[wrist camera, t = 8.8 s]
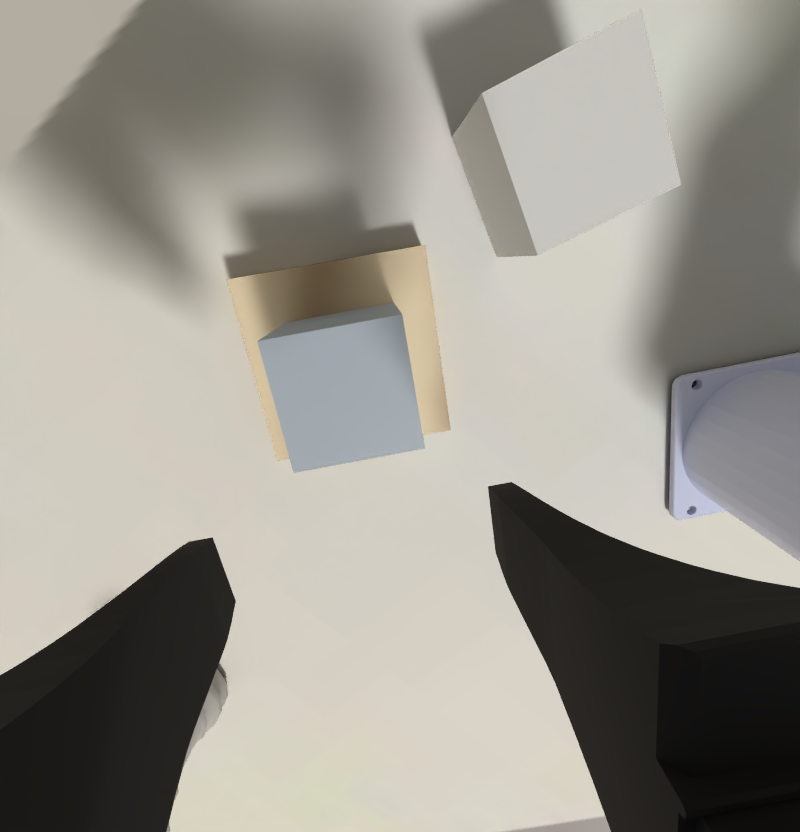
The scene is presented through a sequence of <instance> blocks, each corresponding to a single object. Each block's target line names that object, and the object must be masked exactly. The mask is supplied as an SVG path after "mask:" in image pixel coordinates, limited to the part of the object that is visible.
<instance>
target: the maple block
mask: <svg viewBox="0 0 800 832" xmlns="http://www.w3.org/2000/svg"><path fill="white" fill-rule="evenodd" d="M227 283H228V287H229V290H230V294H231V297H232V301H233V305H234V308H235V312H236V315H237V319H238V322H239V326H240V329H241V333H242V337H243V340H244V344H245V347H246V351H247V354H248V358H249V361H250V365H251V369H252V372H253V376H254V379H255V383H256V386H257V390H258V393H259V397H260V401H261V404H262V408H263V411H264V415H265V418H266V422H267V425H268V429H269V433H270V436H271V440H272V443H273V447H274V450H275V454H276V457H277V461H280V460H286V459H290V458H289V454H288V450H287V447H286V443H285V440H284V436H283V432H282V429H281V425H280V422H279V418H278V414H277V411H276V407H275V404H274V400H273V396H272V393H271V389H270V386H269V382H268V378H267V375H266V371H265V368H264V364H263V360H262V357H261V353H260V350H259V346H258V342H257V341H258V340H260V339H261V338H263V337H264V336H266V335H268V334H269V333H271V332H272V331H274V330H275V329H277V328H278V327H280V326H281V325H283V324H284V323H286V322H291V321H296V320H302V319H307V318H312V317H318V316H323V315H329V314H334V313H339V312H345V311H350V310H356V309H361V308H366V307H372V306H377V305H383V304H388V303H395V305H396V306H397V308H398V309H399V310H400V312H401V313H402V315H403V321H404V327H405V333H406V339H407V345H408V351H409V357H410V362H411V368H412V374H413V380H414V386H415V392H416V398H417V404H418V410H419V416H420V422H421V427H422V433H423V435H425V434H431V433H436V432H442V431H448V430H451V429H450V422H449V415H448V407H447V400H446V393H445V385H444V378H443V371H442V364H441V356H440V349H439V342H438V335H437V327H436V320H435V313H434V305H433V298H432V291H431V284H430V276H429V269H428V262H427V254H426V247H425V245H421V246H415V247H410V248H404V249H398V250H392V251H387V252H381V253H375V254H370V255H364V256H358V257H353V258H347V259H341V260H335V261H330V262H324V263H318V264H313V265H307V266H301V267H296V268H290V269H284V270H278V271H273V272H267V273H261V274H256V275H250V276H244V277H238V278H233V279H227Z"/></svg>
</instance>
